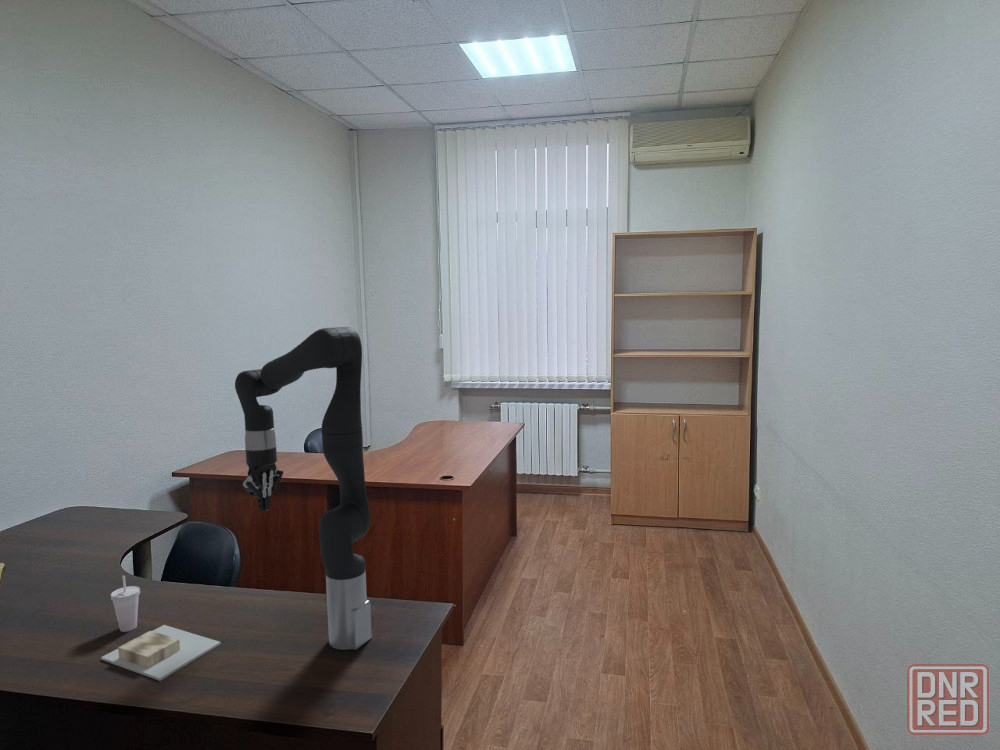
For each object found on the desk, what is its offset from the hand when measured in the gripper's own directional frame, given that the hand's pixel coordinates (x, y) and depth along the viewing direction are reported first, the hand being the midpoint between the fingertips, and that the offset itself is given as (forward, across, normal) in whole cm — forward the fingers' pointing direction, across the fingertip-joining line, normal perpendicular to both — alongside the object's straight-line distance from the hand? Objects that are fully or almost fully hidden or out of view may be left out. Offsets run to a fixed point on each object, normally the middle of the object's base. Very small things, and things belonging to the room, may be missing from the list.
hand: (264, 510), depth 166 cm
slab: (+25, -25, +8) cm, 36 cm away
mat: (+27, -27, +7) cm, 39 cm away
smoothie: (+27, -23, +25) cm, 43 cm away
